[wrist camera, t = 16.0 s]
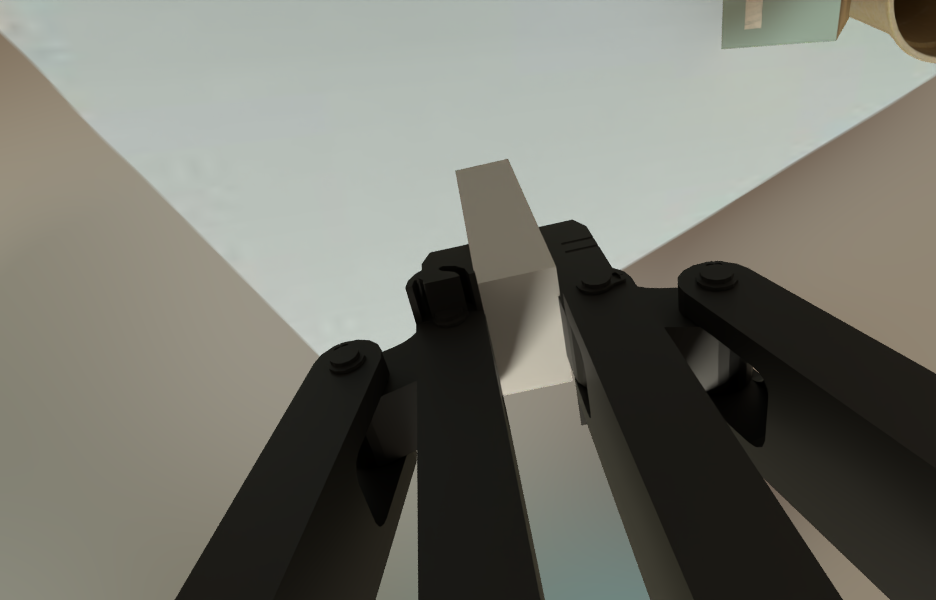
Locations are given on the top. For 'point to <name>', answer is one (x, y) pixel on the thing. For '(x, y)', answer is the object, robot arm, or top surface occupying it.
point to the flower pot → (902, 23)
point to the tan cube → (782, 22)
